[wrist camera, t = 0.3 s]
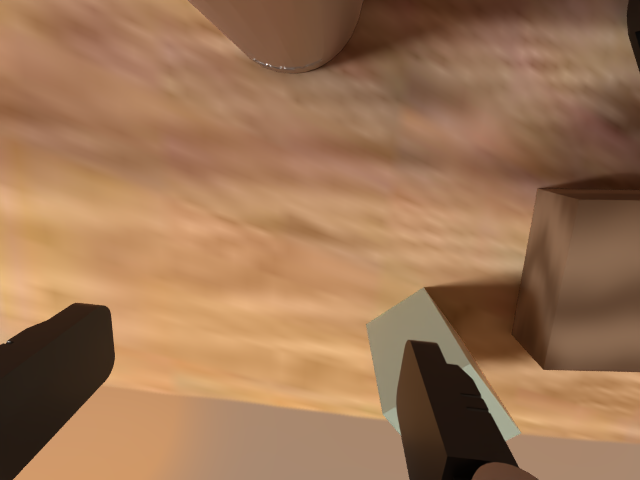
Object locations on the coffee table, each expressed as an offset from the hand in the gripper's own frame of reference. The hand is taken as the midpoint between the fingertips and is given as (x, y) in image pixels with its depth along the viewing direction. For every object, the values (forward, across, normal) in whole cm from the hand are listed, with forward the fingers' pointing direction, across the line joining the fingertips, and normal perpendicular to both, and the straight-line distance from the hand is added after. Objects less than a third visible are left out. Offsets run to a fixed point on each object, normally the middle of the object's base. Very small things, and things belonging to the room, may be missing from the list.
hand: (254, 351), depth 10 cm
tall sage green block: (+18, -9, +10) cm, 23 cm away
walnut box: (+19, -23, +2) cm, 30 cm away
